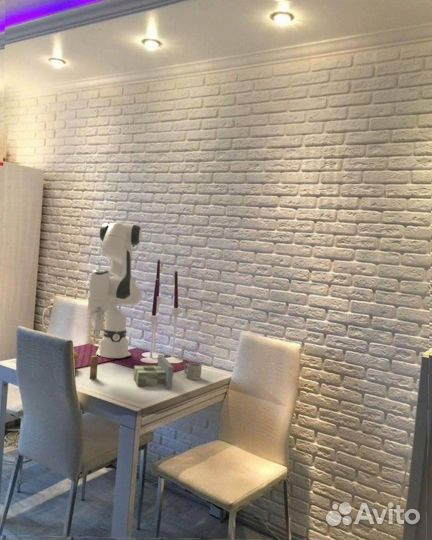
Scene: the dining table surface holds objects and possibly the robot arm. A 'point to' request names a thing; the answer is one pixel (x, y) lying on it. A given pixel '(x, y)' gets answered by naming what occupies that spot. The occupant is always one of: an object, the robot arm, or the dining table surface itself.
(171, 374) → the wall
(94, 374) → the dowel
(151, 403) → the dining table surface
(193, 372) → the mug
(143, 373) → the socket block
